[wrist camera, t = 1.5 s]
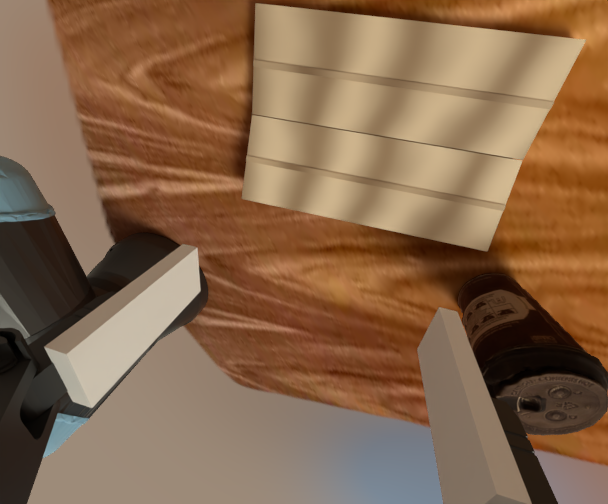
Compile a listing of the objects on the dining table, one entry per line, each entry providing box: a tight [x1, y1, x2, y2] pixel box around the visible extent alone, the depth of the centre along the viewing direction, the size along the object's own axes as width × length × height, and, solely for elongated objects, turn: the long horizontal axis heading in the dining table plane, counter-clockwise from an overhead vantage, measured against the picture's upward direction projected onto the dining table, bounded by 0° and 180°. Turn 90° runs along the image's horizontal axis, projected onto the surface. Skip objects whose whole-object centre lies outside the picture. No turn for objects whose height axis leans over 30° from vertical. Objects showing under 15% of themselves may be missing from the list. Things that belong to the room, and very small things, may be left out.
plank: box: [242, 115, 522, 251], centre depth 26 cm, size 24×8×1 cm, turn 82°
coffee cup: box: [458, 274, 608, 435], centre depth 25 cm, size 9×8×13 cm
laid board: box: [252, 3, 586, 160], centre depth 23 cm, size 24×8×1 cm, turn 82°
